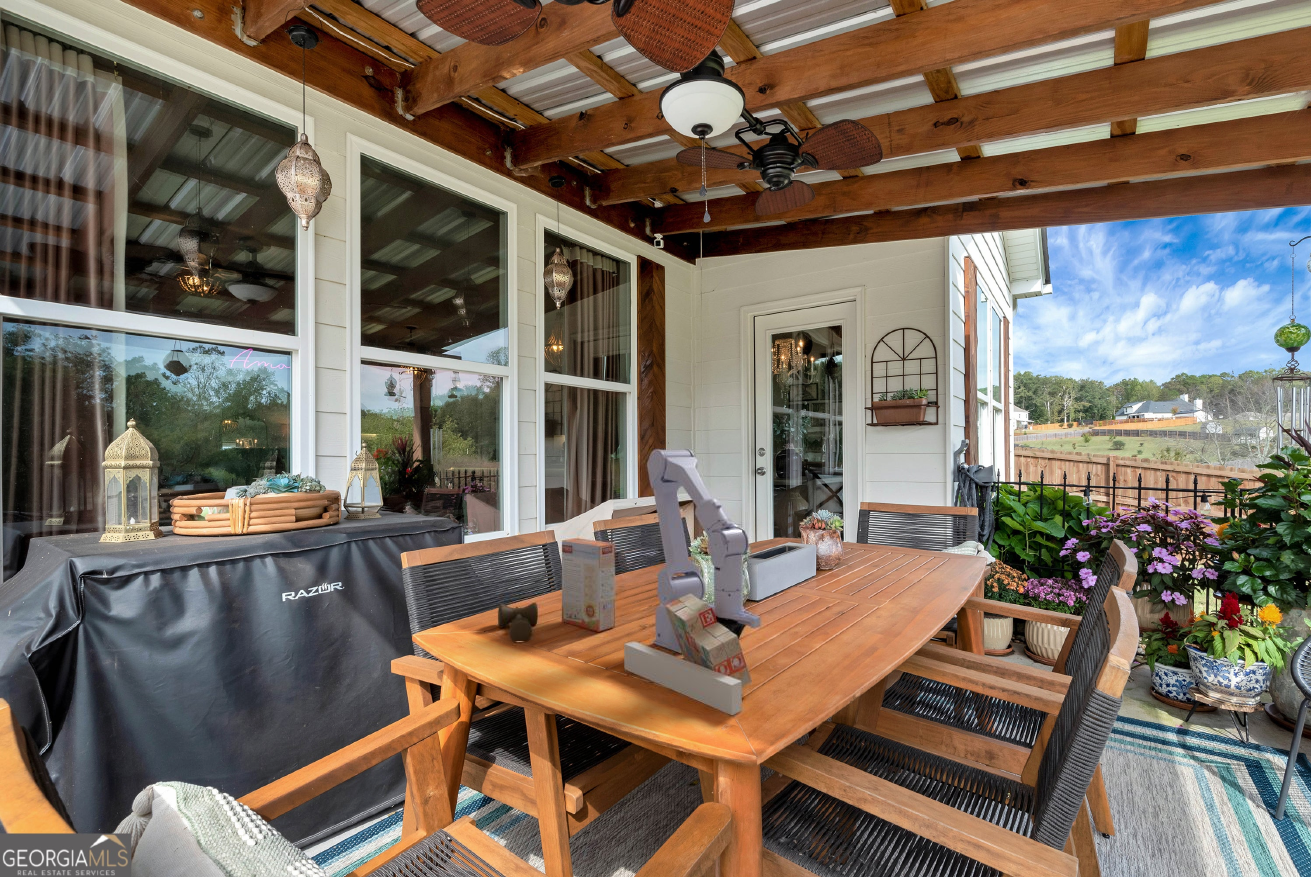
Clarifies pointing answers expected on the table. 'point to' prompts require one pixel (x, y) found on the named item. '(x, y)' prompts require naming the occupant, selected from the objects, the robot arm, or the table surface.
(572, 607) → the cracker box
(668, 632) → the robot arm
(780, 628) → the table surface
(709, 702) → the grey board
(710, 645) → the stack of blocks
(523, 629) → the kendama
